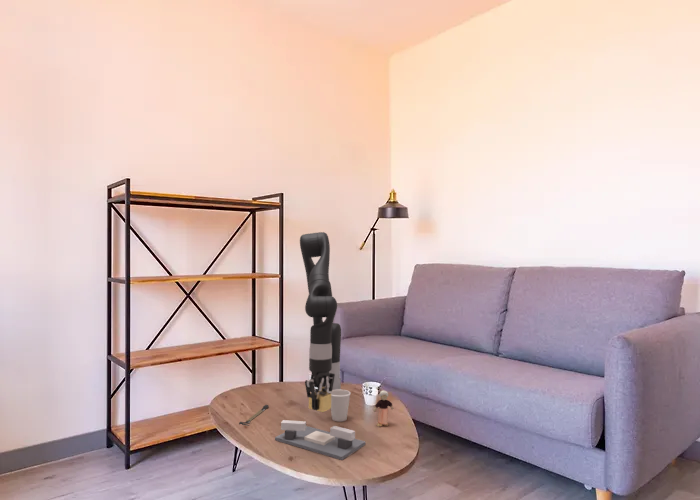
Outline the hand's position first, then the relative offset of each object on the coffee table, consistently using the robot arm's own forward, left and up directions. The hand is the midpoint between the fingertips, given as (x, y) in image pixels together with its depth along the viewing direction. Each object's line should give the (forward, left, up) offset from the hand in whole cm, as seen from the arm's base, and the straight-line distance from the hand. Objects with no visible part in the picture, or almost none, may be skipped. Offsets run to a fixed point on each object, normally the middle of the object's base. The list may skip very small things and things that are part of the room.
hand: (319, 407), depth 156 cm
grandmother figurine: (-26, +10, -12) cm, 30 cm away
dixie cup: (-22, -7, -12) cm, 26 cm away
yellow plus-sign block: (0, 0, 0) cm, 0 cm away
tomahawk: (-7, -34, -12) cm, 37 cm away
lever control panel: (0, 0, -12) cm, 12 cm away
